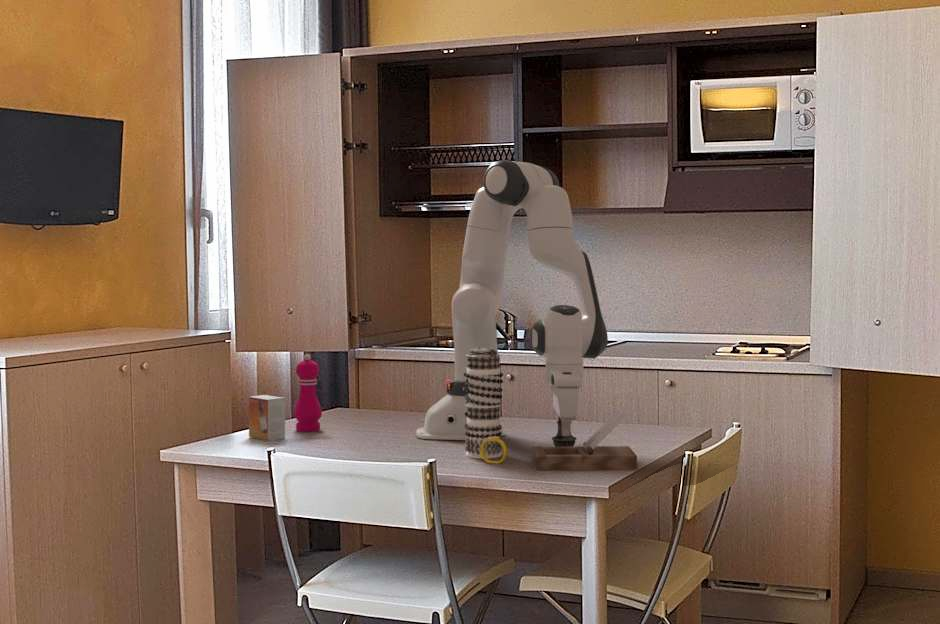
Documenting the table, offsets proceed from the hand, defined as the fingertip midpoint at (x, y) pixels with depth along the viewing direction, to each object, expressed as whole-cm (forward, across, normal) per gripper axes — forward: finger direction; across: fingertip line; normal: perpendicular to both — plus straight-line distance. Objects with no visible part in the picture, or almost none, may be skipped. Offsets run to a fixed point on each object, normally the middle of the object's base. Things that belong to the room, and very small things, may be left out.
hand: (564, 433), depth 284 cm
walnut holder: (+5, +14, +3) cm, 15 cm away
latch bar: (-3, +14, +8) cm, 17 cm away
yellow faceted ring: (+5, +11, -17) cm, 21 cm away
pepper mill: (+5, -35, -64) cm, 73 cm away
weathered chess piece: (+5, 0, 0) cm, 5 cm away
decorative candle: (+5, +2, -19) cm, 20 cm away
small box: (+5, -23, -73) cm, 77 cm away
